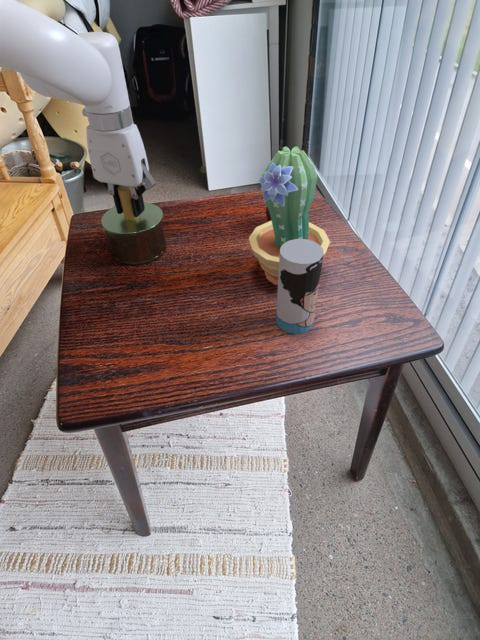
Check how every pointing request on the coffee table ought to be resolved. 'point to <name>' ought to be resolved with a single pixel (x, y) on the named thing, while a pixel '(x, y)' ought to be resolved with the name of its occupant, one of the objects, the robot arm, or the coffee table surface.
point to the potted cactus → (286, 208)
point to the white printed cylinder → (298, 285)
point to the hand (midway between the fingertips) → (131, 211)
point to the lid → (131, 216)
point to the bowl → (138, 246)
